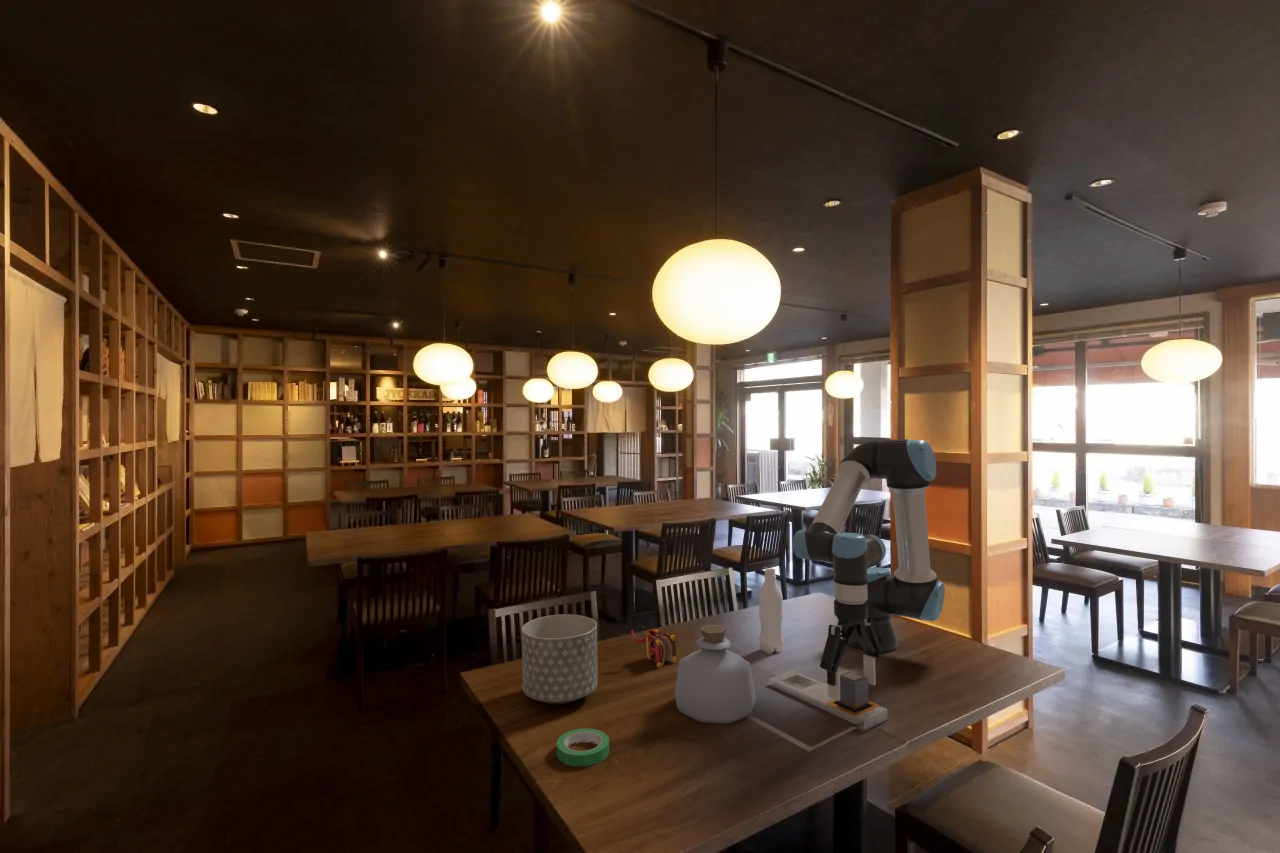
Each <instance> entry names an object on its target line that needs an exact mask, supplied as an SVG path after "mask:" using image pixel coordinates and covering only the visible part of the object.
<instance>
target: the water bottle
mask: <svg viewBox="0 0 1280 853" xmlns="http://www.w3.org/2000/svg"><path fill="white" fill-rule="evenodd" d="M776 578H777V576H776V569H775V568H769V567H768V568H765V570H764V582H763V584H762V585H761V588H760V589H759V593H758V599H759V600H758V604H759V606H758V608H759V609H758V611H759V612H758V617H759V619H760V620H759V621H760V631H759V632H760V633H759V639H758V640H759V647H760V650H761V651H762V652H763V653H765V654H767V655H773V653H775V654H777V653H781V652H782V650H783V648H784V645H785V644H784V640H785V639H784V635H783V628H782V626H783V617H784V611H783V593H782V590H781V588H780V587H779V585H778V583H777V581H776Z"/></svg>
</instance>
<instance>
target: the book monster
mask: <svg viewBox="0 0 1280 853" xmlns="http://www.w3.org/2000/svg"><path fill="white" fill-rule="evenodd" d="M630 632H631V635H632V636H633V637H634V640H635V641H636V642H637V643H638V644H640V643H641V644H642V643H644V642H645V644H646V655H647V656H646V657H647V658H649V659H651V660H650V661H653V663H654V664H656V667H657V668H659V669H661V668H662V666H664V664H665V662H669V661H672V662H673V663H674V662H675V663H676V662H677V660H678V659H677V658H678V657H677V648H676V634H670V633H668V632H666V631H665V632H664V631H660V630H659V629H649V630H648V631H647V632H645V636H644V638H641V639H638V638H637V637H636V636H635V633H634V629H632V630H630Z"/></svg>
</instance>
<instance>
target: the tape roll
mask: <svg viewBox="0 0 1280 853" xmlns="http://www.w3.org/2000/svg"><path fill="white" fill-rule="evenodd" d="M583 741H585V742H583ZM578 742H582V743H589V742H593V743H592V744H594V743H595V744H594V745H596V744H597V745H596V746H595V747H593V748H590V749H586V750H576V749H571V748H570V747H568V746H569V745H571V744H574V743H577V744H579V743H578ZM574 745H575V744H574ZM571 746H572V745H571ZM609 753H610V737H609V736H608V735H607V733H605V732H603V731H602V730H599V729H595V728H586V727H585V728H578V729H577V728H576V729H572V730H569V731H567V732H565V733H563V734H561V736H559V737H558V738H557V740H556V757H558V758H559V759H558V758H557V759H558V761H560V762H561V761H562V762H563V763H562V762H561V763H562V764H564V763H565V764H564V765H566V764H568V765H567V766H569V765H572V766H571V767H574V766H586V767H588V766H587V765H591V766H593V765H592V764H595V763H597V764H599V763H601V762H602V760H603V761H604V760H605V759H606V758H608V755H609ZM598 762H599V763H598ZM595 765H596V764H595Z"/></svg>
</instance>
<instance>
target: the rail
mask: <svg viewBox="0 0 1280 853" xmlns="http://www.w3.org/2000/svg"><path fill="white" fill-rule="evenodd" d="M768 685H769V686H770V687H773V688H776V689H778V690H780V691H781V692H784V693H786V694H788V695H791V696H792V697H795V698H797V699H799V700H802V701H804V702H806V703H808V704H810V705H813V706H815V707H817V708H819V709H822V710H824V711H826V712H827V713H830V714H832V715H834V716H837V717H838V718H841V719H843V720H845V721H848V722H850V723H851V724H854V725H853V726H852V727H854V728H856V729H858V730H860V731H862V732H865V731H868V730H870V729H872V728H874V727H876V726H878V725H880V724H882V723H884V722H885V721H887V720H888V709H887V708H885V707H884V706H880V704H878V703H875V702H873V701H871V700H869V708H867V709H865V710H862V711H860V712H858V713H855V712H852V711H850V710H848V709H845V708H843V707H841V706H839V705H837V700H835V699H832V698H830V697H828V683H824V682H822V681H820V680H817V679H815V678H814V677H813V678H812V677H810V676H807V675H805V674H802V673H800V672H797V671H795V670H793V669H791V670H788V671H785V672H783V673H781V674H777V675H775V676H772V677H769V678H768Z"/></svg>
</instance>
